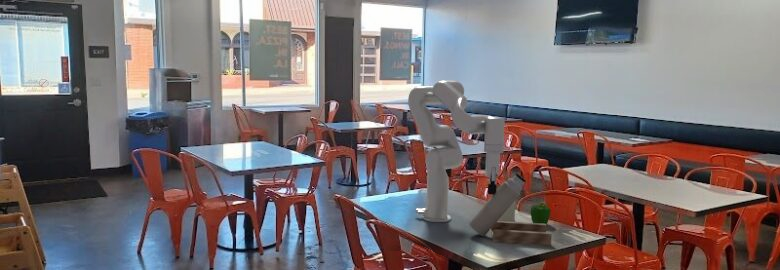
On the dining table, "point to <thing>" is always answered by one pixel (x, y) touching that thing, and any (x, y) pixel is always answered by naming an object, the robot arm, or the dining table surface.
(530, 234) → the bottle rest
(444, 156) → the robot arm
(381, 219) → the dining table surface
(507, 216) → the can
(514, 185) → the thermos bottle
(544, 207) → the bell pepper
